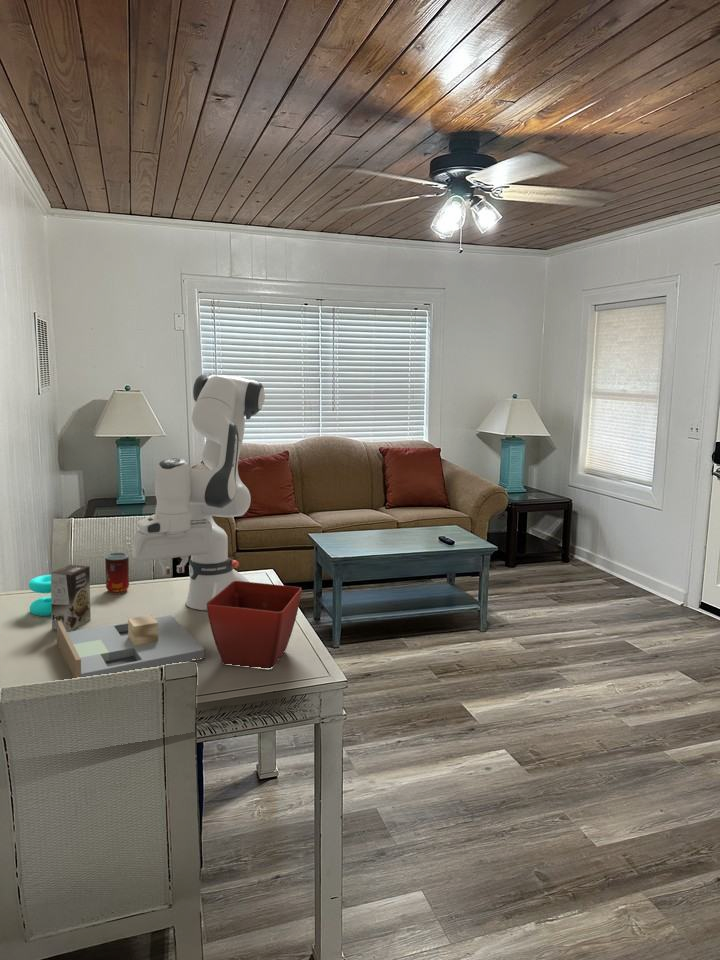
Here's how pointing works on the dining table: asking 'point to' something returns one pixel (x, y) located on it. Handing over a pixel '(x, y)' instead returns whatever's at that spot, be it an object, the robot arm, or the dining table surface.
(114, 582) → the soda can
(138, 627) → the oak block
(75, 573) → the coffee box
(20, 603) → the dining table surface
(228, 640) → the plant pot
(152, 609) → the dining table surface
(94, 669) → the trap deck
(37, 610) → the cyan spool
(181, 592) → the dining table surface
